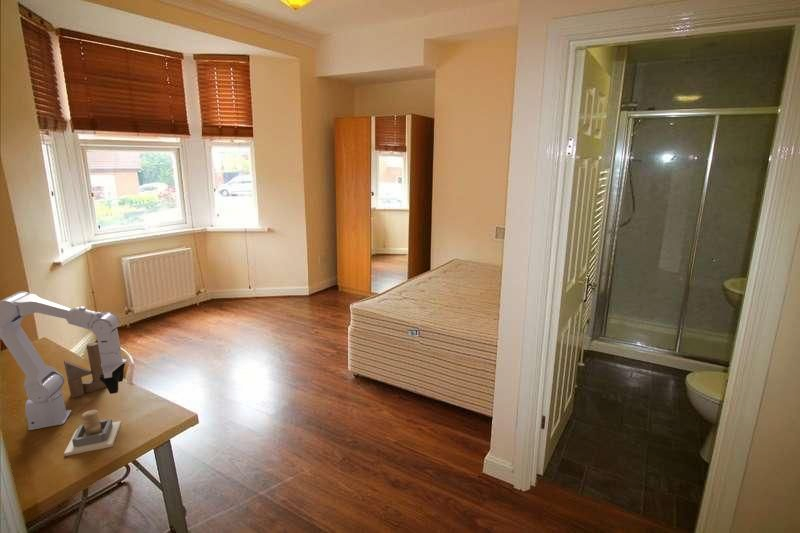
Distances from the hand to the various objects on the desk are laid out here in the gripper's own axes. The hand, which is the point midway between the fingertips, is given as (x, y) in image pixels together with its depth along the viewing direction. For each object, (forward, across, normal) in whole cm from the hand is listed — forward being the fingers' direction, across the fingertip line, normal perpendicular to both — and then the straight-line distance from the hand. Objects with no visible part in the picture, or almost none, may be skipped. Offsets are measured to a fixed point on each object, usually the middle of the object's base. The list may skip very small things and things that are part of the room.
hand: (116, 387), depth 140 cm
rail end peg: (+9, -12, +5) cm, 16 cm away
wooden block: (+11, +21, +14) cm, 27 cm away
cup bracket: (+10, -12, +5) cm, 17 cm away
